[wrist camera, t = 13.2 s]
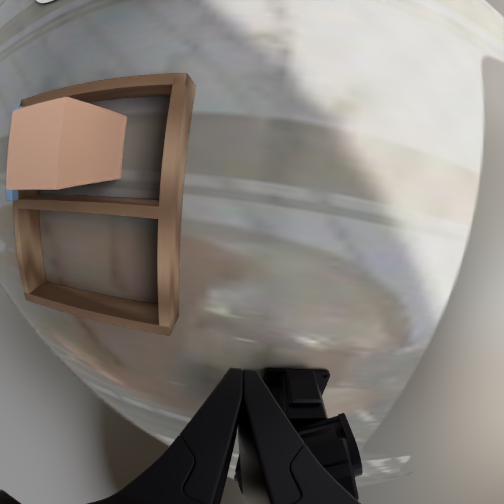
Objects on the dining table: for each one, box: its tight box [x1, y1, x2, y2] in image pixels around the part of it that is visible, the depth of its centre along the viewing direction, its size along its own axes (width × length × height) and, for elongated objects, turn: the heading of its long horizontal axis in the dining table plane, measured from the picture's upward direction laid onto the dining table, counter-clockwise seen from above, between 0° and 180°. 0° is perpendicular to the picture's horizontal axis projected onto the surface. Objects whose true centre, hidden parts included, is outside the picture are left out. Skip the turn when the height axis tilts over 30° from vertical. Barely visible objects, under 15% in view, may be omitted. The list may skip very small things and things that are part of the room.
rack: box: [6, 73, 196, 336], centre depth 17 cm, size 18×16×4 cm
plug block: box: [6, 97, 127, 190], centre depth 14 cm, size 5×5×8 cm
